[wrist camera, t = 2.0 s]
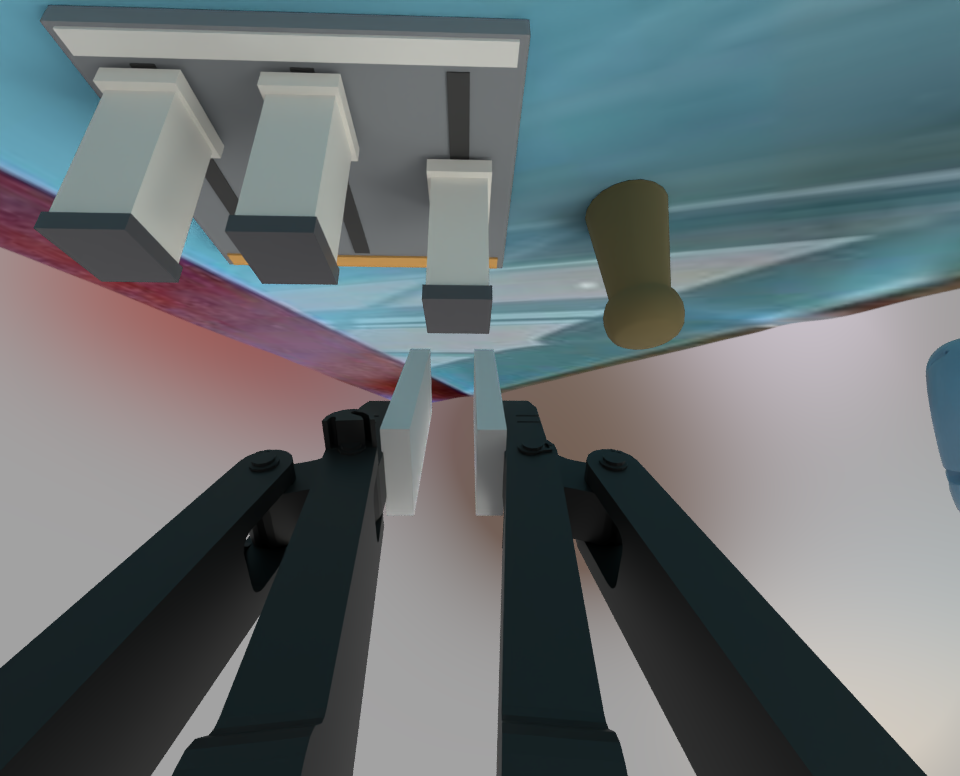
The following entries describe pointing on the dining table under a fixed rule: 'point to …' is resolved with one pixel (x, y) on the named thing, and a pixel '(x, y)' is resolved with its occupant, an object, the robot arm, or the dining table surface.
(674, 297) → the cork
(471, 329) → the lever
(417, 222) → the panel
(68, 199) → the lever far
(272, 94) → the lever mid
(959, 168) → the dining table surface
